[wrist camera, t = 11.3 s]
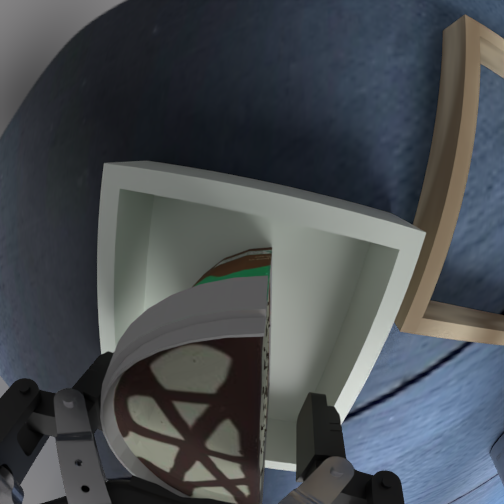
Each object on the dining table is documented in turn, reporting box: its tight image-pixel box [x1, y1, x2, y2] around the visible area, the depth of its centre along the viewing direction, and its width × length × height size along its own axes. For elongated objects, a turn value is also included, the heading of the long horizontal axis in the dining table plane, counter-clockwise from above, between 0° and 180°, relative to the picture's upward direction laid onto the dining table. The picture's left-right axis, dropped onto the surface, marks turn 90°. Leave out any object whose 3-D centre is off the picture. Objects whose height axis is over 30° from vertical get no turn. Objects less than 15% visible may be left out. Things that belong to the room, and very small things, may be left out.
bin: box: [97, 161, 426, 471], centre depth 16 cm, size 14×17×5 cm
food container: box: [100, 247, 272, 504], centre depth 13 cm, size 12×6×10 cm, turn 1°
